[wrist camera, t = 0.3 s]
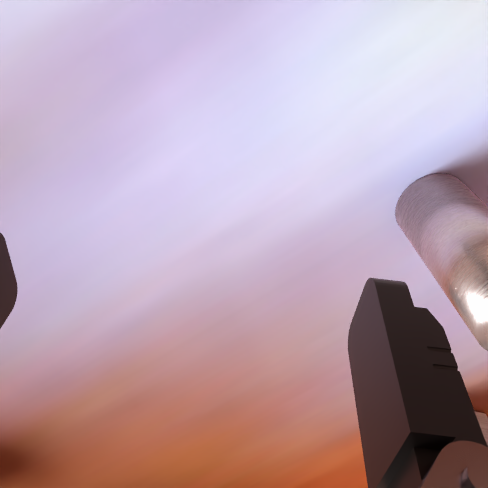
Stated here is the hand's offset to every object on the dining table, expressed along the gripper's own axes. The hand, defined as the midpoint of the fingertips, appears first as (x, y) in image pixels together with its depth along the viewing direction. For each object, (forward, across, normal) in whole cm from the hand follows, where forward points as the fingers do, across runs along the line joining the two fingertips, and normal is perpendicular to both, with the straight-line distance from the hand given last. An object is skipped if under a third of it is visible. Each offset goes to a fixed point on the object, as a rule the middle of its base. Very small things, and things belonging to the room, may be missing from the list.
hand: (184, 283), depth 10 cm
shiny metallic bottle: (+19, -14, +8) cm, 25 cm away
